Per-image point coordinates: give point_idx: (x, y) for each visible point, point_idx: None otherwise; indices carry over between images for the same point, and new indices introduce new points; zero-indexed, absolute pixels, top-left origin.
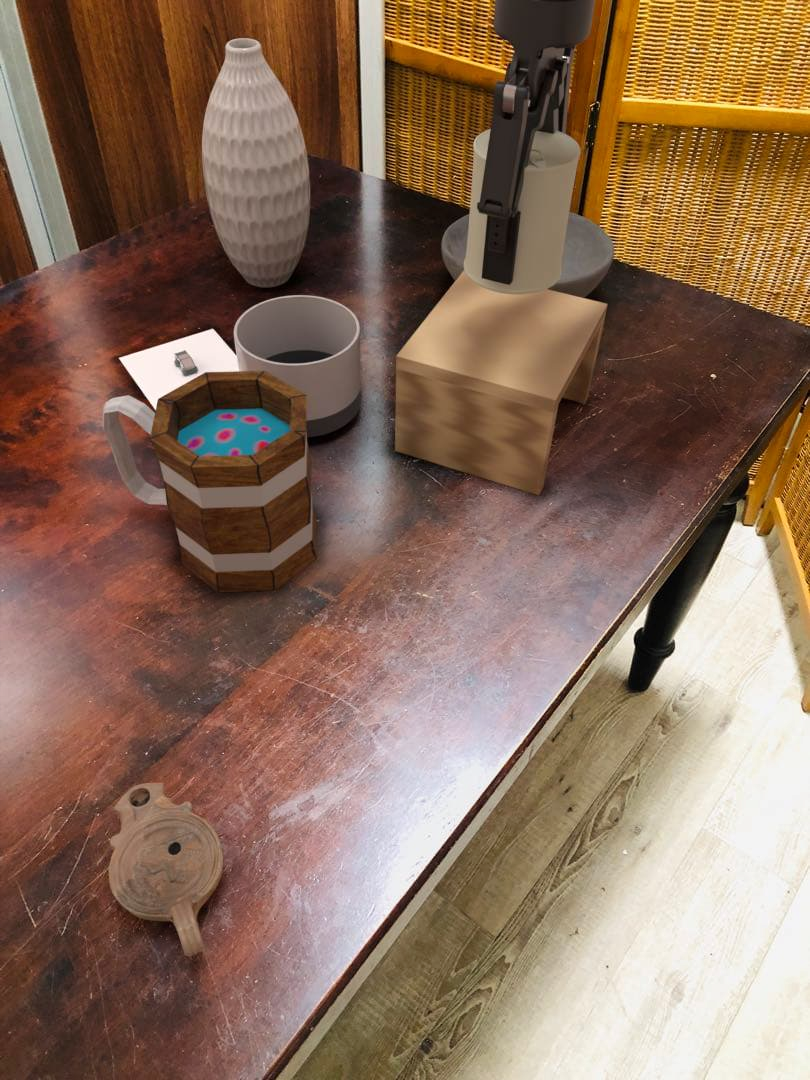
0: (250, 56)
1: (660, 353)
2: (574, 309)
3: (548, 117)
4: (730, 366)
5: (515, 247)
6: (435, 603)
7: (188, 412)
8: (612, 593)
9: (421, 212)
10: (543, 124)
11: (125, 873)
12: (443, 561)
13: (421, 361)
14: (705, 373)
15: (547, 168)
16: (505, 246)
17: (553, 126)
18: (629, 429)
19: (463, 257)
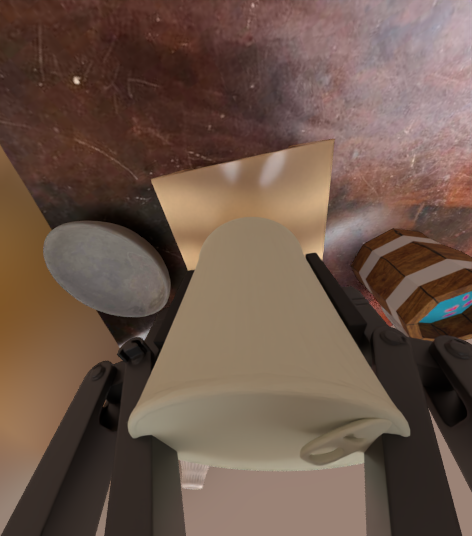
0: (196, 479)
1: (95, 145)
2: (183, 203)
3: (158, 515)
4: (48, 69)
5: (329, 281)
6: (420, 150)
7: (429, 329)
8: (389, 11)
9: (120, 326)
10: (164, 474)
11: None
12: (380, 167)
13: None
14: (80, 90)
15: (394, 414)
16: (347, 291)
17: (151, 468)
18: (193, 118)
19: (143, 297)
